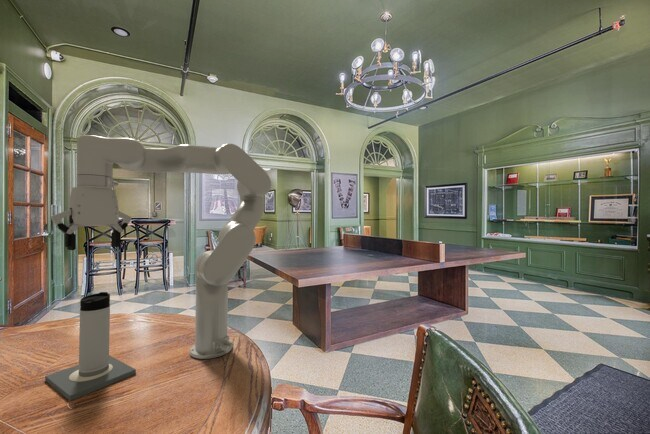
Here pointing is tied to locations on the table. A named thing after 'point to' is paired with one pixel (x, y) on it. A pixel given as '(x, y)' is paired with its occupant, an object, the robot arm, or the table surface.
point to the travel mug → (94, 334)
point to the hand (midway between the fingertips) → (94, 248)
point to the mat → (87, 379)
